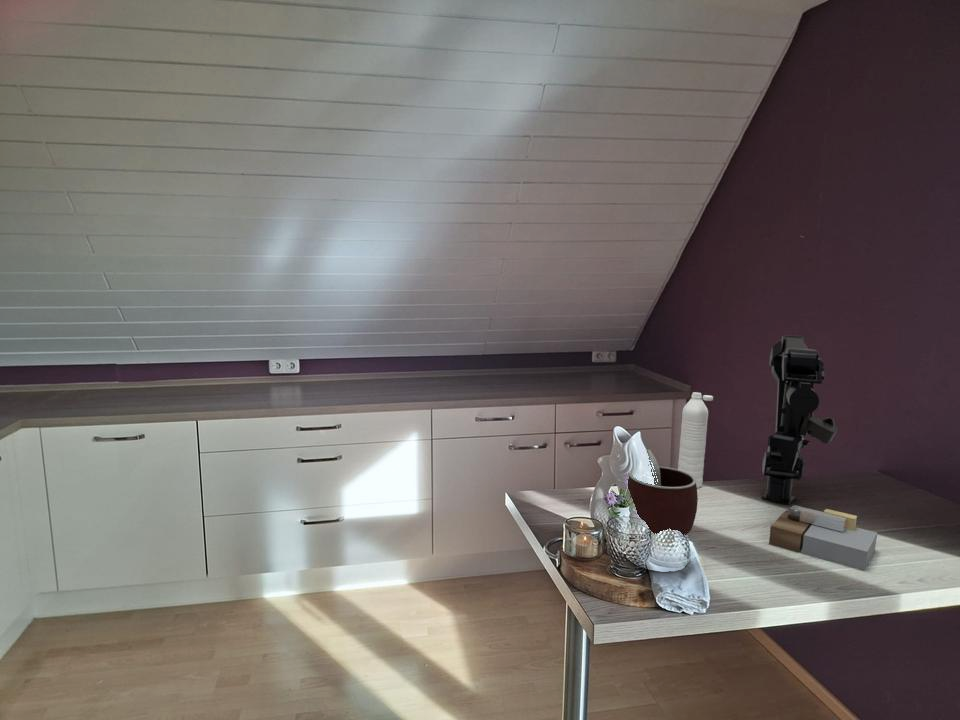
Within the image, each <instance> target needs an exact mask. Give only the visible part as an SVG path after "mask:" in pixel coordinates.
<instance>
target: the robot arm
mask: <svg viewBox="0 0 960 720" xmlns="http://www.w3.org/2000/svg"><path fill="white" fill-rule="evenodd" d="M805 340H806V337H805V336H802V335H790V334H785V335H782V336H781V340H780V341H777V343H775V344H773V345H772V347H771V350H770V354H769V367H771V376H772V377H773V379H774V380H775V382H776V383H777V388H776V389H777V390H776V391H777V392H776V409H775V410H776V414H775V431H774V433H773V434H771V435H770V436H768V437H767V446H768V447H767V451H765V452H764V456H763V459H762V465H761V466H762V468H761V470H762V475H763V476H764V477H765V476H767V483H766V491H765V492H764V494H762V495H761V499H763V500H768V501H772V502H776V503H780V504H783V505H790V504H791V503H792V502H793V501H794V500H795V498H796V496H795V495H792V490H793V489H792V488H793V480H797V481H800V480H801V479H803V472H804V469H805V465H806V464H805V463H806V462H805V461H804V458H803V456H802V455H801V451H802V450H803V449H804V448H805V447H806V446H807V445H808V444H810V443H811V441H810V440H806V439H804V438H805V437H806V436H808V435H809V436H811V438H815V439H818V440H819V441H820V442H821V443H823V444H825V445H829V444H830V443H831V442H832V441H833V439H834V437H835V435H836V434H837V432H838V430H839V429H838V426H836V423H835V422H836V420H835V419H834V418H832V417H830V416H828V417H826V418H824V419H822V418H817V417H815V416H814V414H815V413H814V412H815V411H816V410H817V409H818V408H819V404H820V399H819V395H818V394H817V392H816V391H815V390H814V385H818V384H819V385H822V382H823V381H824V379H825V365H824V363H825V361H824V360H823V358H822V356H821V355H819V354H820V353H819V351H818V350H816V349H811V348H808V347H807V345H806V343H805V342H806V341H805Z"/></svg>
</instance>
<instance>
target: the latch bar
mask: <svg viewBox="0 0 960 720" xmlns="http://www.w3.org/2000/svg"><path fill="white" fill-rule="evenodd" d="M787 509H788V510H787V511H788V518H789V519H791V520H795V521H801V522H805V523H809V524H813V525H817V526H821V527H825V528H829V529H833V530H837V531H841V532H843V531H844V530H845V528H846V520H847V518H845V517H841V516H837V515H833V514H829V513H825V512H824V511H820V510H816V509H812V508H807V507H803V506H799V505H795V504H792V505H789V506H788V508H787Z"/></svg>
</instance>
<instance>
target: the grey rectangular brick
mask: <svg viewBox="0 0 960 720" xmlns="http://www.w3.org/2000/svg"><path fill="white" fill-rule="evenodd" d="M823 512H825V513H829V514H833V515H837V516H841V517H845V518H847V520H846V528H845V530H844V531H843V532H841V531H837V530H833V529H829V528H825V527H821V526H817V525H813V524H812V525H811V527H810V528H809V529H808V530H807V532H806V533H805V534H804V538H803V547H802V549H801V554H803V555H806V556H810V557H814V558H817V559H821V560H825V561H828V562H832V563H835V564H838V565H842V566H846V567H849V568H853V569H857V570H860V571H864V572H865V571H866V570H867V567H868V566H869V564H870V561H871V560H872V558H873V555H874V554H875V551H876V545H877V537H878V532H876V531H872V530H867V529H863V528H861V527H856V526H857V518H858V516H857V515H854V514H850V513H846V512H842V511H841V512H840V511H837V510H832V509H829V508H825V509H824V510H823Z"/></svg>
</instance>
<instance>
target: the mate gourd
mask: <svg viewBox="0 0 960 720" xmlns="http://www.w3.org/2000/svg"><path fill="white" fill-rule="evenodd" d="M646 453H647V460H648V459H649V460H651V461H649V462H650V465H651V467H652V464H651V462H652V463H653V466H654V469H655V470H654V469H653V467H652V469H653V472H654V475H653V473H652V476H653V477H654V476H655V478H654V484H655V485H652V484H648V483H644V482H642V481H639V480H637V479H636V478H634V477H633V475H632V473H628V477H629V479H628V478H627V480H628V489H629V491H630V494H631V497H632V499H633V502H634V504H635V507H636V510H637V514H638V515H639V517H640V518H641V519H642V520H644V521H645V522H646V524H647V525H648V527H649V529H650V530H651V531H652V532H653V533H654V534H655V533H656V534H657V533H659V532H660V531H663V530H667V529H669V528H670V529H671V530H678V531H680V532H681V533H682V534H683V535H684V534H685V535H686V536H687V535H688V534H689V533H690V532H692V529H693V526H694V524H695V519H696V515H697V511H698V500H699V497H698V488H697V486H696V478H695V477H694V476H692V475H691V474H689V473H687V472H684V471H681V470H678V468H672V467H669V466H659V463H658V461H657V459H656V457H655V455H654V454H653V452H652V450H651V449H646ZM648 456H649V458H648ZM652 469H651V472H652ZM655 472H656V473H655ZM655 474H656V475H655ZM656 476H657V478H656ZM657 479H658V482H657ZM655 481H656V482H655ZM656 483H657V484H656Z"/></svg>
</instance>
